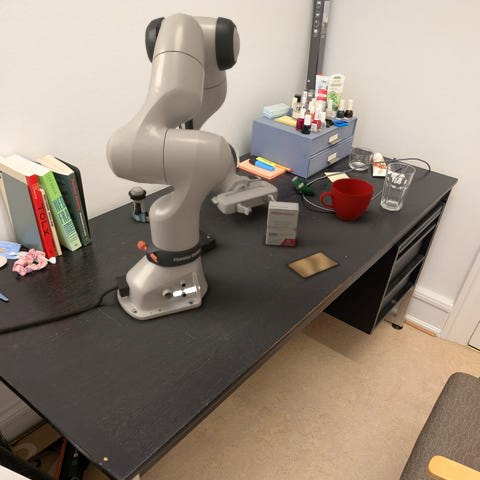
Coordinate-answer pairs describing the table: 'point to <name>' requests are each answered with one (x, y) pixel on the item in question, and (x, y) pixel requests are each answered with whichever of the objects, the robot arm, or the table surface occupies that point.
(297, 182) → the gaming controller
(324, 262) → the gold rectangular plate
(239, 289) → the table surface
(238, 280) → the table surface
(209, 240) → the disk drive
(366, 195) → the ceramic cup
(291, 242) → the ink box
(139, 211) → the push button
